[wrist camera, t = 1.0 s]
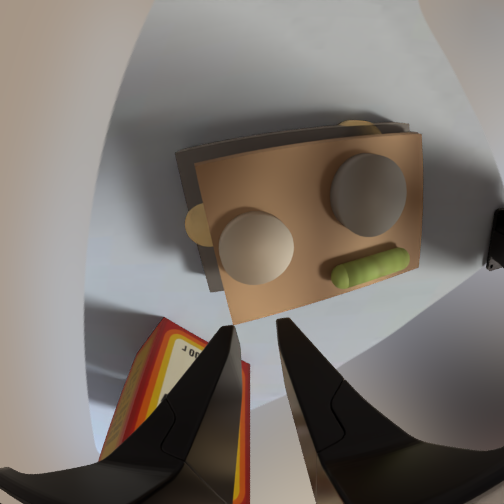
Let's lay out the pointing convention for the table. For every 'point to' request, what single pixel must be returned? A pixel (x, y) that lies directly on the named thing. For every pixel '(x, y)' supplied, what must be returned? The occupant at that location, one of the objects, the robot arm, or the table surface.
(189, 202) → the instrument base
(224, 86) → the table surface
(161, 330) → the baking soda box
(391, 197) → the level plate
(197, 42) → the table surface
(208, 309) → the table surface
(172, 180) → the table surface
